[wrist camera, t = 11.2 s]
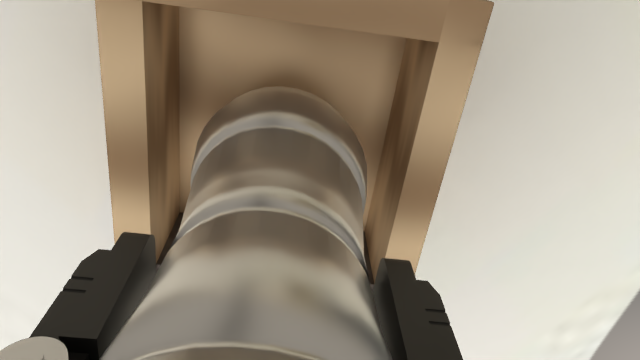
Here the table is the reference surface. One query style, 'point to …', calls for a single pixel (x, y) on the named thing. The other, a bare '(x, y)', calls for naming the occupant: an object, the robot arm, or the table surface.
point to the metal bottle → (265, 244)
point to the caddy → (295, 72)
